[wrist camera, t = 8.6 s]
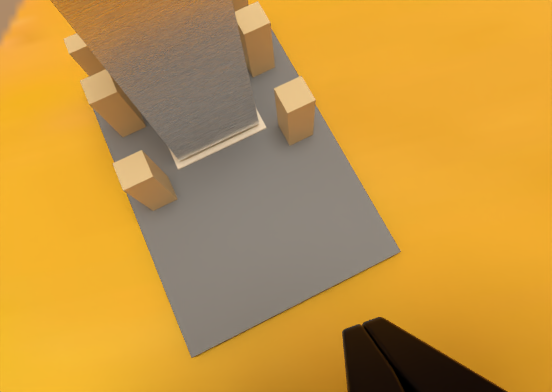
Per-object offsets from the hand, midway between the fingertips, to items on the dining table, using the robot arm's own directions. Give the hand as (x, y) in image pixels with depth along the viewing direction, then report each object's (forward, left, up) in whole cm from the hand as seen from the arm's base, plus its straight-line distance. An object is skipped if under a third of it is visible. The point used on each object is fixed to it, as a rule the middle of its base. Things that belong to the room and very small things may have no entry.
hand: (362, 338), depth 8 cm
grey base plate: (+8, +6, -13) cm, 17 cm away
